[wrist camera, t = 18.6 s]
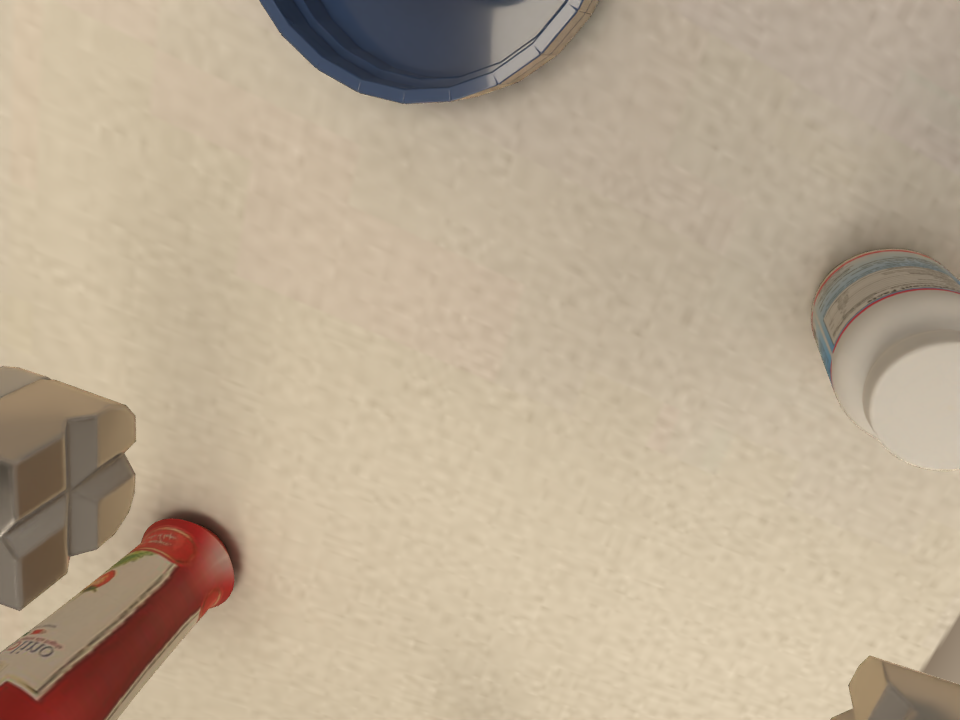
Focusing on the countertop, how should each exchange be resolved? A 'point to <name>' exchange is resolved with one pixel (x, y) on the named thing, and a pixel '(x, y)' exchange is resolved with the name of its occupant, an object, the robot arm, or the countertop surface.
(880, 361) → the pill bottle
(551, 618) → the countertop surface
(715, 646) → the countertop surface
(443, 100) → the bowl
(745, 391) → the countertop surface
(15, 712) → the liquor
